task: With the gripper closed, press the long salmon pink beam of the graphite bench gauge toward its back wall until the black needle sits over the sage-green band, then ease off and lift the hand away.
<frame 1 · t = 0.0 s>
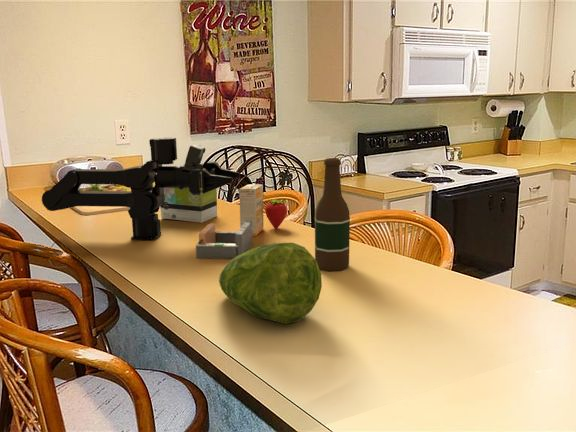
hand: (236, 177, 142), 17 cm above the counter, fingers open, 9 cm apart
supplement box: (252, 233, 153), on the counter
tea box: (189, 218, 172), on the counter
lettuce: (261, 310, 98), on the counter
gauge frame: (223, 250, 135), on the counter
strawberry: (276, 229, 157), on the counter
long salmon pink beam: (206, 239, 134), point 3 cm above the counter, slide at 0.0 cm
beer bottle: (331, 267, 122), on the counter
cutting board: (104, 205, 197), on the counter
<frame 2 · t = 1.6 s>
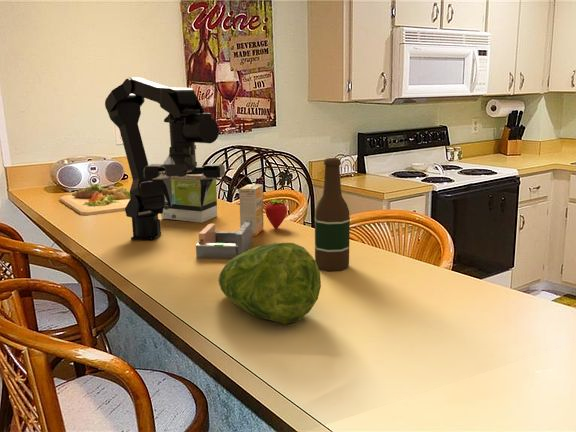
hand: (186, 205, 134), 11 cm above the counter, fingers open, 8 cm apart
nothing on the counter moved.
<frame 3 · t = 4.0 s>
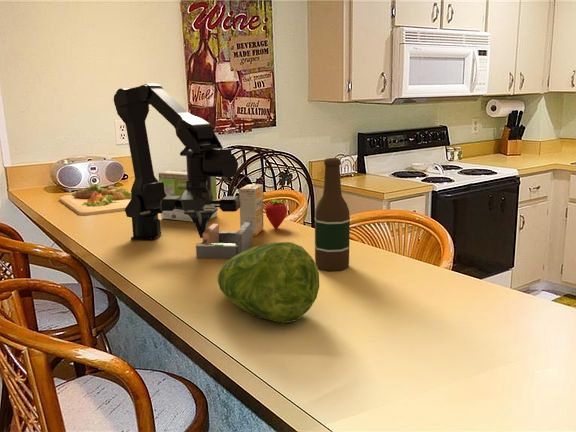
hand: (202, 237, 135), 3 cm above the counter, fingers closed
long salmon pink beam: (210, 239, 134), point 3 cm above the counter, slide at 0.9 cm, touching gripper
everything else where it was.
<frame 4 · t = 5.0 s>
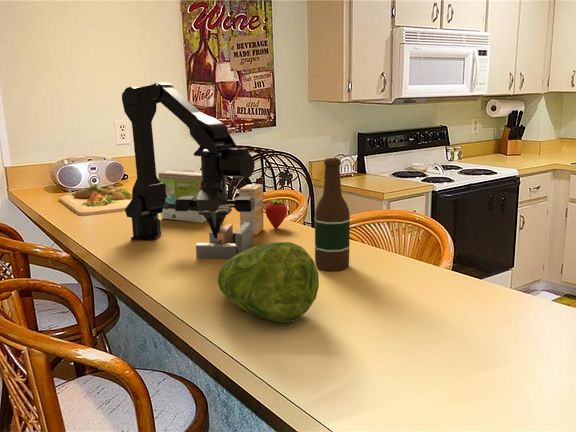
hand: (216, 238, 135), 3 cm above the counter, fingers closed
long salmon pink beam: (224, 239, 134), point 3 cm above the counter, slide at 4.5 cm, touching gripper
everything else where it was.
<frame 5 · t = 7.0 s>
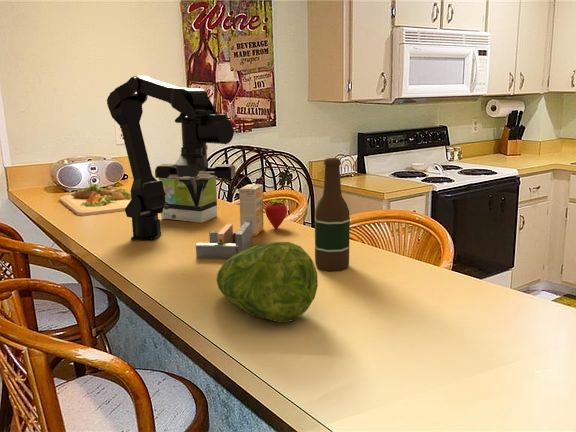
hand: (197, 205, 135), 11 cm above the counter, fingers closed
long salmon pink beam: (224, 239, 134), point 3 cm above the counter, slide at 4.5 cm
everything else where it was.
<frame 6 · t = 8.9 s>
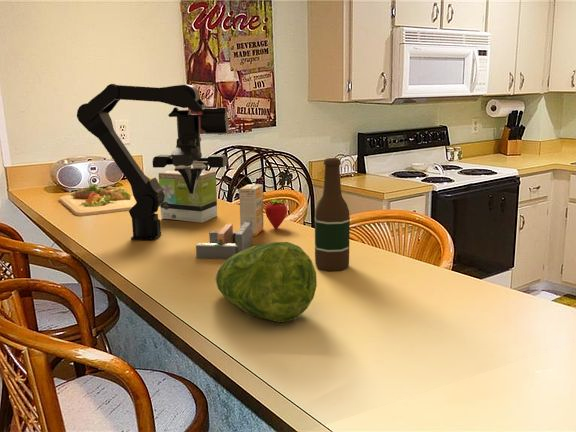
hand: (191, 193, 146), 12 cm above the counter, fingers closed
at the end: long salmon pink beam slide at 4.5 cm; supplement box moved 0.2 cm from its start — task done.
